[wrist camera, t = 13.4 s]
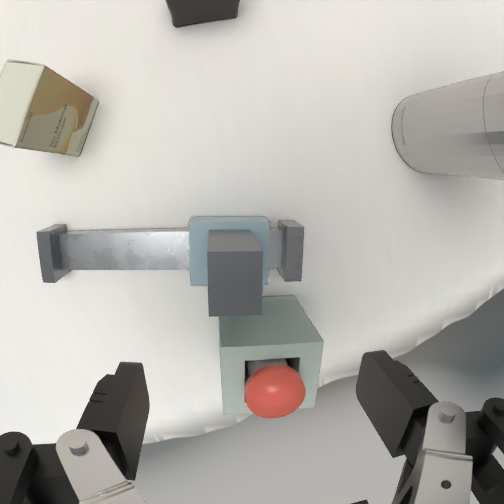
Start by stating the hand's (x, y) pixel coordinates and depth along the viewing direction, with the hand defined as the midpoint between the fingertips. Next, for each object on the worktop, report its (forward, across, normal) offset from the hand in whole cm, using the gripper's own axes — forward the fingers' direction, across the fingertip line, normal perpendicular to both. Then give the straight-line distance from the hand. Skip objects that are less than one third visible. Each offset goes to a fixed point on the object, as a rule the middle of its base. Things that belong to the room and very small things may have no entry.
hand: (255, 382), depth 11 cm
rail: (+22, +6, 0) cm, 23 cm away
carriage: (+22, 0, 0) cm, 22 cm away
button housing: (+22, -3, +9) cm, 24 cm away
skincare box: (+22, +16, -13) cm, 30 cm away
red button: (+20, -3, +9) cm, 22 cm away
